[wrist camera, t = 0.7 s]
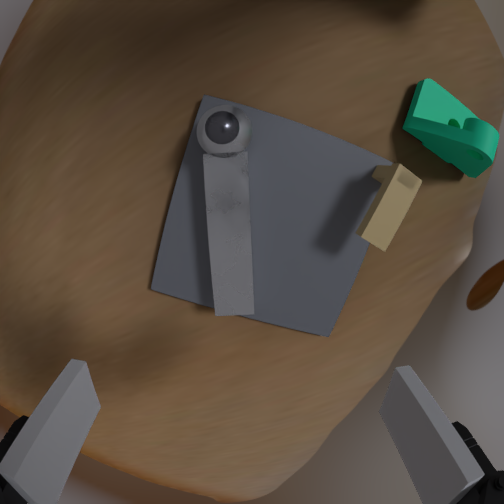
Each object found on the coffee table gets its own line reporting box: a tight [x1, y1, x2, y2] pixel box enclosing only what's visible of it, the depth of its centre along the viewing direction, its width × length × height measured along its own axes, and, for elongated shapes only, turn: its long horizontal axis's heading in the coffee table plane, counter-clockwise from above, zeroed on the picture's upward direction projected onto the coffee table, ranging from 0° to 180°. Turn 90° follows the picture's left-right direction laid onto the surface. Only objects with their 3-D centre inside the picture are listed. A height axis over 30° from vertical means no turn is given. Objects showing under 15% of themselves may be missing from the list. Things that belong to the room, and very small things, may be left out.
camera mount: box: [402, 78, 499, 178], centre depth 25 cm, size 12×8×10 cm, turn 68°
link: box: [197, 105, 254, 316], centre depth 28 cm, size 20×5×6 cm, turn 2°
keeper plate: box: [151, 95, 422, 337], centre depth 29 cm, size 22×22×8 cm
